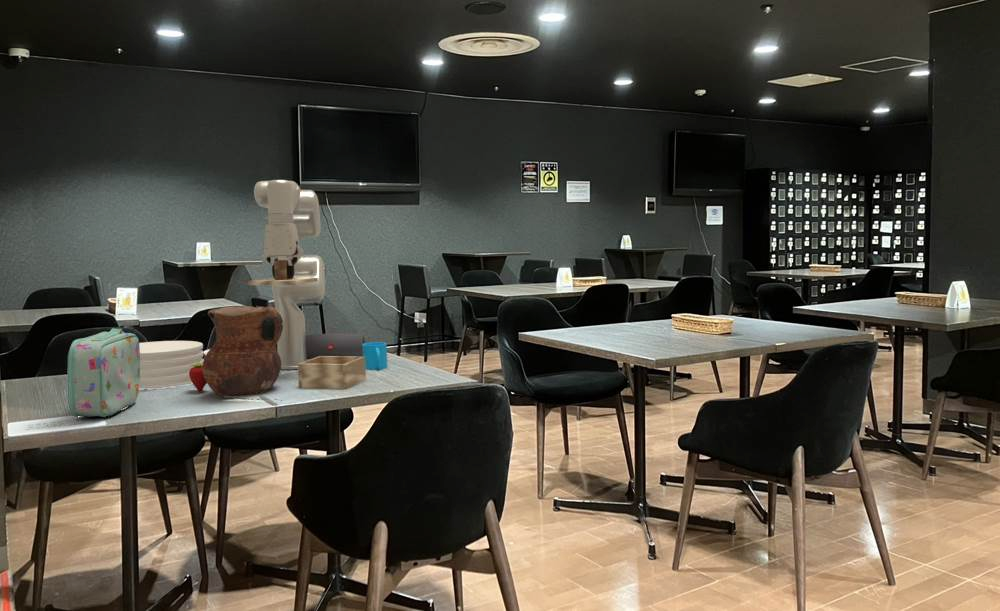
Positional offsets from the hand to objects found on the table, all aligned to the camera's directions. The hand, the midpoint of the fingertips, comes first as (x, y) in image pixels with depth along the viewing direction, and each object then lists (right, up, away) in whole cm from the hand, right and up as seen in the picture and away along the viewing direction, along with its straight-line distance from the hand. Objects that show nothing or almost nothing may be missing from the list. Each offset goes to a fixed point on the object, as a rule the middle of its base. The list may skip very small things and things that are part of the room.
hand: (283, 277), depth 262 cm
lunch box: (-35, -37, -42) cm, 66 cm away
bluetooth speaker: (+8, -29, +36) cm, 47 cm away
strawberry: (-20, -34, -17) cm, 43 cm away
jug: (-6, -35, -22) cm, 41 cm away
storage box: (+18, -33, -14) cm, 40 cm away
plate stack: (-40, -33, 0) cm, 52 cm away
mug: (+27, -30, +18) cm, 44 cm away
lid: (0, -2, 0) cm, 2 cm away
